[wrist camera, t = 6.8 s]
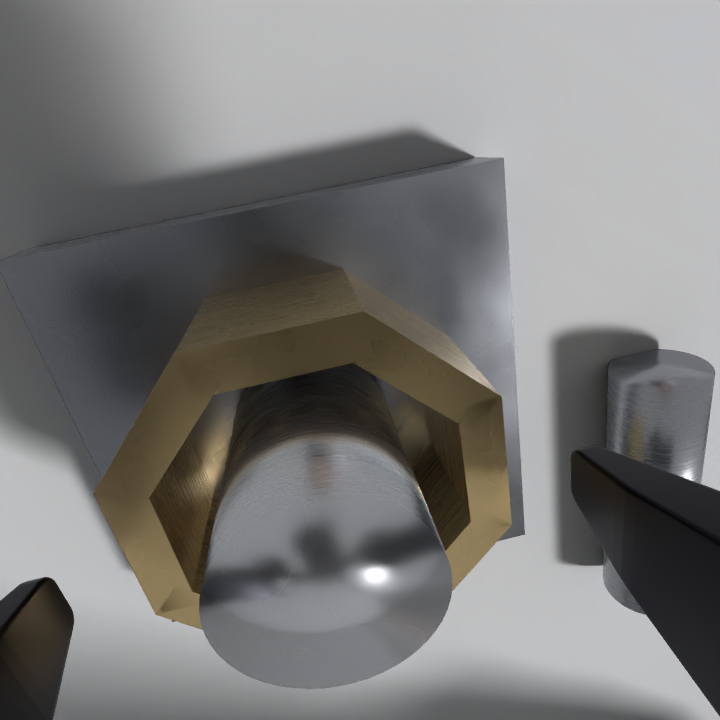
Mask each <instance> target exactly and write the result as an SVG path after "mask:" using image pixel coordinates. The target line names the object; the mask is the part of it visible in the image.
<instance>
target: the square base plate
mask: <svg viewBox="0 0 720 720" xmlns="http://www.w3.org/2000/svg"><path fill="white" fill-rule="evenodd" d="M339 269H345V270H346V271H348V272H349V273H351V274H352V275H354V276H356V277H357V278H359V279H360V280H362V281H363V282H365V283H366V284H368V285H369V286H371V287H373V288H374V289H376V290H377V291H379V292H380V293H382V294H383V295H385V296H387V297H388V298H390V299H391V300H393V301H394V302H396V303H397V304H399V305H401V306H402V307H404V308H405V309H407V310H408V311H410V312H411V313H413V314H414V315H416V316H418V317H419V318H421V319H422V320H424V321H425V322H427V323H428V324H430V325H432V326H433V327H435V328H436V329H438V330H439V331H441V332H442V333H444V334H446V335H447V336H449V337H450V338H451V340H452V341H453V342H454V343H455V344H456V345H457V346H458V347H459V349H460V350H461V351H462V352H463V353H464V354H465V355H466V357H467V358H468V359H469V360H470V361H471V362H472V363H473V364H474V366H475V367H476V368H477V369H478V370H479V371H480V372H481V374H482V375H483V376H484V377H485V378H486V379H487V380H488V381H489V383H490V384H491V385H492V386H493V387H494V388H495V389H496V391H497V392H498V393H499V394H500V395H501V396H502V404H503V417H504V430H505V443H506V456H507V469H508V481H509V494H510V507H511V520H512V525H511V526H510V528H509V529H508V530H507V531H506V532H505V533H504V534H503V535H502V536H501V538H500V539H499V540H498V541H500V540H504V539H508V538H512V537H516V536H520V535H524V534H525V530H524V512H523V495H522V477H521V459H520V441H519V423H518V405H517V387H516V369H515V352H514V334H513V316H512V298H511V280H510V262H509V244H508V226H507V209H506V191H505V173H504V158H488V157H476V158H471V159H466V160H461V161H456V162H451V163H446V164H441V165H437V166H432V167H427V168H422V169H417V170H412V171H407V172H402V173H397V174H392V175H388V176H383V177H378V178H373V179H368V180H363V181H358V182H353V183H348V184H343V185H339V186H334V187H329V188H324V189H319V190H314V191H309V192H304V193H299V194H295V195H290V196H285V197H280V198H275V199H270V200H265V201H260V202H255V203H250V204H246V205H241V206H236V207H231V208H226V209H221V210H216V211H211V212H206V213H202V214H197V215H192V216H187V217H182V218H177V219H172V220H167V221H162V222H157V223H153V224H148V225H143V226H138V227H133V228H128V229H123V230H118V231H113V232H109V233H104V234H99V235H94V236H89V237H84V238H79V239H74V240H69V241H64V242H60V243H55V244H50V245H45V246H40V247H35V248H31V249H29V250H26V251H24V252H21V253H18V254H16V255H13V256H10V257H8V258H5V259H2V260H0V272H1V274H2V276H3V278H4V280H5V282H6V284H7V286H8V289H9V291H10V293H11V295H12V297H13V299H14V301H15V303H16V305H17V307H18V309H19V311H20V313H21V315H22V317H23V319H24V321H25V323H26V325H27V327H28V329H29V331H30V333H31V335H32V337H33V339H34V341H35V343H36V345H37V347H38V349H39V352H40V354H41V356H42V358H43V360H44V362H45V364H46V366H47V368H48V370H49V372H50V374H51V376H52V378H53V380H54V382H55V384H56V386H57V388H58V390H59V392H60V394H61V396H62V398H63V400H64V402H65V404H66V406H67V408H68V410H69V412H70V415H71V417H72V419H73V421H74V423H75V425H76V427H77V429H78V431H79V433H80V435H81V437H82V439H83V441H84V443H85V445H86V447H87V449H88V451H89V453H90V455H91V457H92V459H93V461H94V463H95V465H96V467H97V469H98V471H99V473H100V475H101V478H103V476H104V474H105V472H106V471H107V469H108V467H109V465H110V463H111V462H112V460H113V458H114V456H115V455H116V453H117V451H118V449H119V448H120V446H121V444H122V442H123V440H124V439H125V437H126V435H127V433H128V432H129V430H130V428H131V426H132V425H133V423H134V421H135V419H136V417H137V416H138V414H139V412H140V410H141V409H142V407H143V405H144V403H145V402H146V400H147V398H148V397H149V395H150V393H151V391H152V390H153V388H154V386H155V385H156V383H157V381H158V379H159V378H160V376H161V374H162V372H163V371H164V369H165V367H166V366H167V364H168V362H169V360H170V359H171V357H172V355H173V354H174V352H175V350H176V348H177V347H178V345H179V343H180V342H181V340H182V338H183V336H184V335H185V333H186V331H187V330H188V328H189V326H190V324H191V323H192V321H193V319H194V317H195V316H196V314H197V312H198V311H199V309H200V307H201V305H202V304H203V302H204V300H205V299H207V298H211V297H216V296H221V295H225V294H230V293H234V292H239V291H243V290H248V289H252V288H257V287H261V286H266V285H271V284H275V283H280V282H284V281H289V280H293V279H298V278H302V277H307V276H312V275H316V274H321V273H325V272H330V271H334V270H339ZM191 433H192V435H193V438H194V440H195V443H196V446H197V448H198V451H199V453H200V456H201V458H202V461H203V464H204V466H205V469H206V471H207V474H208V477H209V479H210V482H211V484H212V487H213V489H214V491H216V492H219V493H220V495H219V500H218V505H217V510H216V516H215V521H214V526H213V531H212V536H211V541H210V546H209V551H208V557H207V562H206V567H205V572H204V577H203V582H202V587H201V592H200V598H199V615H200V621H201V625H202V628H203V631H204V634H205V636H206V638H207V639H208V641H209V643H210V645H211V646H212V647H213V649H214V650H215V651H216V652H217V654H218V655H219V656H220V657H221V658H222V659H224V660H225V661H226V662H227V663H228V664H229V665H231V666H232V667H234V668H235V669H237V670H238V671H240V672H242V673H244V674H246V675H248V676H250V677H252V678H254V679H257V680H260V681H263V682H266V683H270V684H274V685H278V686H284V687H291V688H306V689H312V688H328V687H336V686H341V685H346V684H351V683H355V682H358V681H361V680H365V679H368V678H370V677H373V676H375V675H378V674H380V673H382V672H384V671H386V670H388V669H390V668H392V667H394V666H396V665H397V664H399V663H401V662H402V661H404V660H405V659H407V658H408V657H409V656H411V655H412V654H413V653H414V652H416V651H417V650H418V649H419V648H420V647H421V646H422V645H423V644H424V643H425V642H426V641H427V640H428V639H429V638H430V637H431V636H432V634H433V633H434V632H435V631H436V629H437V628H438V626H439V625H440V623H441V621H442V620H443V618H444V616H445V613H446V611H447V609H448V606H449V602H450V599H451V594H452V585H453V584H452V571H451V567H450V563H449V560H448V557H447V555H446V552H445V550H444V547H443V545H442V542H441V540H440V537H439V535H438V532H437V530H436V527H435V525H434V522H433V520H432V517H431V514H430V512H429V509H428V507H427V504H426V502H425V499H424V497H423V494H422V492H421V489H420V487H419V484H418V482H417V479H416V477H415V474H414V472H413V469H412V467H411V464H410V462H411V461H412V460H413V459H414V457H415V456H416V455H417V454H418V452H419V451H420V450H421V449H422V447H423V446H424V445H425V444H426V442H427V441H428V440H429V433H428V427H427V420H426V413H425V407H424V403H422V402H420V401H418V400H417V399H415V398H413V397H411V396H410V395H408V394H406V393H404V392H403V391H401V390H399V389H397V388H396V387H394V386H392V385H391V384H389V383H387V382H385V381H384V380H382V379H380V378H378V377H377V376H375V375H373V374H371V373H370V372H368V371H366V370H364V369H363V368H361V367H359V366H357V365H356V364H354V363H350V364H346V365H341V366H337V367H333V368H328V369H324V370H320V371H315V372H311V373H307V374H302V375H298V376H294V377H289V378H285V379H281V380H276V381H272V382H268V383H263V384H259V385H255V386H250V387H246V388H242V389H237V390H233V391H228V392H224V393H220V394H215V395H213V396H212V398H211V400H210V401H209V403H208V404H207V406H206V408H205V409H204V411H203V412H202V414H201V416H200V417H199V419H198V420H197V422H196V424H195V425H194V427H193V428H192V430H191ZM172 622H174V620H172Z"/></svg>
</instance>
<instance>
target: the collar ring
mask: <svg viewBox="0 0 720 720" xmlns="http://www.w3.org/2000/svg"><path fill="white" fill-rule="evenodd" d="M350 363H354V364H356V365H357V366H359V367H361V368H363V369H364V370H366V371H368V372H370V373H371V374H373V375H375V376H377V377H378V378H380V379H382V380H384V381H385V382H387V383H389V384H391V385H392V386H394V387H396V388H397V389H399V390H401V391H403V392H404V393H406V394H408V395H410V396H411V397H413V398H415V399H417V400H418V401H420V402H422V403H424V407H425V413H426V420H427V427H428V433H429V440H428V441H427V442H426V444H425V445H424V446H423V447H422V449H421V450H420V451H419V452H418V454H417V455H416V456H415V457H414V459H413V460H412V461H411V462H410V464H411V467H412V469H413V472H414V474H415V477H416V479H417V482H418V484H419V487H420V489H421V492H422V494H423V497H424V499H425V502H426V504H427V507H428V509H429V512H430V514H431V517H432V520H433V522H434V525H435V527H436V530H437V532H438V535H439V537H440V540H441V542H442V545H443V547H444V550H445V552H446V555H447V557H448V560H449V563H450V567H451V571H452V584H453V585H452V591H453V590H454V589H455V588H456V586H457V585H458V584H459V583H460V582H461V581H462V580H463V579H464V578H465V576H466V575H467V574H468V573H469V572H470V571H471V570H472V569H473V568H474V566H475V565H476V564H477V563H478V562H479V561H480V560H481V559H482V558H483V556H484V555H485V554H486V553H487V552H488V551H489V550H490V549H491V548H492V546H493V545H494V544H495V543H496V542H497V541H498V540H499V539H500V538H501V536H502V535H503V534H504V533H505V532H506V531H507V530H508V529H509V528H510V526H511V525H512V520H511V507H510V494H509V481H508V469H507V456H506V443H505V430H504V417H503V404H502V396H501V395H500V394H499V393H498V392H497V391H496V389H495V388H494V387H493V386H492V385H491V384H490V383H489V381H488V380H487V379H486V378H485V377H484V376H483V375H482V374H481V372H480V371H479V370H478V369H477V368H476V367H475V366H474V364H473V363H472V362H471V361H470V360H469V359H468V358H467V357H466V355H465V354H464V353H463V352H462V351H461V350H460V349H459V347H458V346H457V345H456V344H455V343H454V342H453V341H452V340H451V338H450V337H449V336H447V335H446V334H444V333H442V332H441V331H439V330H438V329H436V328H435V327H433V326H432V325H430V324H428V323H427V322H425V321H424V320H422V319H421V318H419V317H418V316H416V315H414V314H413V313H411V312H410V311H408V310H407V309H405V308H404V307H402V306H401V305H399V304H397V303H396V302H394V301H393V300H391V299H390V298H388V297H387V296H385V295H383V294H382V293H380V292H379V291H377V290H376V289H374V288H373V287H371V286H369V285H368V284H366V283H365V282H363V281H362V280H360V279H359V278H357V277H356V276H354V275H352V274H351V273H349V272H348V271H346V270H345V269H339V270H334V271H330V272H325V273H321V274H316V275H312V276H307V277H302V278H298V279H293V280H289V281H284V282H280V283H275V284H271V285H266V286H261V287H257V288H252V289H248V290H243V291H239V292H234V293H230V294H225V295H221V296H216V297H211V298H207V299H205V300H204V302H203V304H202V305H201V307H200V309H199V311H198V312H197V314H196V316H195V317H194V319H193V321H192V323H191V324H190V326H189V328H188V330H187V331H186V333H185V335H184V336H183V338H182V340H181V342H180V343H179V345H178V347H177V348H176V350H175V352H174V354H173V355H172V357H171V359H170V360H169V362H168V364H167V366H166V367H165V369H164V371H163V372H162V374H161V376H160V378H159V379H158V381H157V383H156V385H155V386H154V388H153V390H152V391H151V393H150V395H149V397H148V398H147V400H146V402H145V403H144V405H143V407H142V409H141V410H140V412H139V414H138V416H137V417H136V419H135V421H134V423H133V425H132V426H131V428H130V430H129V432H128V433H127V435H126V437H125V439H124V440H123V442H122V444H121V446H120V448H119V449H118V451H117V453H116V455H115V456H114V458H113V460H112V462H111V463H110V465H109V467H108V469H107V471H106V472H105V474H104V476H103V478H102V479H101V481H100V483H99V485H98V486H97V488H96V490H95V492H94V496H95V498H96V500H97V502H98V504H99V506H100V508H101V510H102V512H103V514H104V516H105V518H106V519H107V521H108V523H109V525H110V527H111V529H112V531H113V533H114V535H115V537H116V539H117V541H118V543H119V545H120V546H121V548H122V550H123V552H124V554H125V556H126V558H127V560H128V562H129V564H130V566H131V568H132V570H133V572H134V574H135V575H136V577H137V579H138V581H139V583H140V585H141V587H142V589H143V591H144V593H145V595H146V597H147V599H148V601H149V603H150V604H151V606H152V608H153V610H154V612H155V614H156V615H158V616H162V617H165V618H168V619H171V620H174V621H177V622H180V623H183V624H186V625H190V626H193V627H196V628H199V629H202V630H203V628H202V625H201V621H200V615H199V598H200V592H201V587H202V582H203V577H204V572H205V567H206V562H207V557H208V551H209V546H210V541H211V536H212V531H213V526H214V521H215V516H216V510H217V505H218V500H219V495H220V493H219V492H216V491H214V489H213V487H212V484H211V482H210V479H209V477H208V474H207V471H206V469H205V466H204V464H203V461H202V458H201V456H200V453H199V451H198V448H197V446H196V443H195V440H194V438H193V435H192V433H191V430H192V428H193V427H194V425H195V424H196V422H197V420H198V419H199V417H200V416H201V414H202V412H203V411H204V409H205V408H206V406H207V404H208V403H209V401H210V400H211V398H212V396H213V395H215V394H220V393H224V392H228V391H233V390H237V389H242V388H246V387H250V386H255V385H259V384H263V383H268V382H272V381H276V380H281V379H285V378H289V377H294V376H298V375H302V374H307V373H311V372H315V371H320V370H324V369H328V368H333V367H337V366H341V365H346V364H350Z"/></svg>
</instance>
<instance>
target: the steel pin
mask: <svg viewBox="0 0 720 720" xmlns="http://www.w3.org/2000/svg"><path fill="white" fill-rule="evenodd" d="M714 378H715V370H714V368H713V366H712V365H711V364H710V363H709V362H707V361H706V360H704V359H702V358H700V357H698V356H695V355H692V354H689V353H685V352H680V351H675V350H666V349H654V350H650V351H646V352H642V353H637V354H633V355H629V356H625V357H620V358H616V359H613V360H612V361H611V362H610V363H609V366H608V399H607V437H606V449H609V450H611V451H614V452H617V453H619V454H622V455H625V456H627V457H630V458H633V459H635V460H638V461H641V462H643V463H646V464H649V465H651V466H654V467H657V468H659V469H662V470H665V471H667V472H670V473H673V474H675V475H678V476H681V477H683V478H686V479H689V480H691V481H694V482H697V483H699V484H701V481H702V473H703V465H704V457H705V449H706V441H707V433H708V426H709V418H710V410H711V402H712V394H713V386H714ZM603 581H604V584H605V586H606V588H607V590H608V592H609V593H610V594H611V595H612V596H613V597H614V599H616V600H617V601H618V602H619V603H621V604H622V605H624V606H625V607H627V608H629V609H631V610H633V611H636V612H638V613H642V614H645V612H644V611H643V610H642V608H641V607H640V605H639V604H638V603H637V601H636V600H635V599H634V597H633V596H632V594H631V593H630V592H629V590H628V589H627V587H626V586H625V584H624V583H623V581H622V580H621V579H620V577H619V575H618V574H617V572H616V570H615V569H614V567H613V565H612V564H611V562H610V560H609V559H608V557H607V555H606V553H605V552H603ZM645 615H646V614H645Z"/></svg>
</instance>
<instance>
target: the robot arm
mask: <svg viewBox="0 0 720 720" xmlns="http://www.w3.org/2000/svg"><path fill="white" fill-rule="evenodd" d="M571 490H572V494H573V497H574V499H575V501H576V503H577V505H578V507H579V508H580V510H581V512H582V514H583V515H584V517H585V519H586V520H587V522H588V524H589V526H590V527H591V529H592V531H593V533H594V534H595V536H596V538H597V540H598V541H599V543H600V545H601V546H602V548H603V550H604V552H605V553H606V555H607V557H608V559H609V560H610V562H611V564H612V565H613V567H614V569H615V570H616V572H617V574H618V575H619V577H620V579H621V580H622V581H623V583H624V584H625V586H626V587H627V589H628V590H629V592H630V593H631V594H632V596H633V597H634V599H635V600H636V601H637V603H638V604H639V605H640V607H641V608H642V610H643V611H644V612H645V614H646V615H647V617H648V618H649V619H650V621H651V622H652V623H653V625H654V626H655V628H656V629H657V630H658V632H659V633H660V635H661V636H662V637H663V639H664V640H665V641H666V643H667V644H668V646H669V647H670V648H671V650H672V651H673V652H674V654H675V655H676V657H677V658H678V659H679V661H680V662H681V664H682V665H683V666H684V668H685V669H686V670H687V672H688V673H689V675H690V676H691V677H692V679H693V680H694V682H695V683H696V684H697V686H698V687H699V688H700V690H701V691H702V693H703V694H704V695H705V697H706V698H707V699H708V701H709V702H710V704H711V705H712V706H713V708H714V709H715V711H716V712H717V713H718V715H719V716H720V491H718V490H715V489H713V488H710V487H707V486H705V485H702V484H699V483H697V482H694V481H691V480H689V479H686V478H683V477H681V476H678V475H675V474H673V473H670V472H667V471H665V470H662V469H659V468H657V467H654V466H651V465H649V464H646V463H643V462H641V461H638V460H635V459H633V458H630V457H627V456H625V455H622V454H619V453H617V452H614V451H611V450H609V449H606V448H603V447H601V446H597V445H592V446H588V447H583V448H579V449H576V450H574V451H573V452H572V455H571ZM73 625H74V615H73V611H72V609H71V607H70V605H69V604H68V602H67V600H66V599H65V597H64V595H63V594H62V592H61V590H60V589H59V587H58V585H57V584H56V582H55V581H54V580H53V579H51V578H49V577H43V578H39V579H35V580H31V581H27V582H24V583H22V584H20V585H19V586H17V587H16V588H15V589H14V590H13V591H11V592H10V593H9V594H8V595H7V596H5V597H4V598H3V599H2V600H1V601H0V720H53V716H54V712H55V708H56V704H57V699H58V695H59V690H60V685H61V681H62V676H63V672H64V667H65V662H66V658H67V653H68V649H69V644H70V640H71V635H72V630H73Z"/></svg>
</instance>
